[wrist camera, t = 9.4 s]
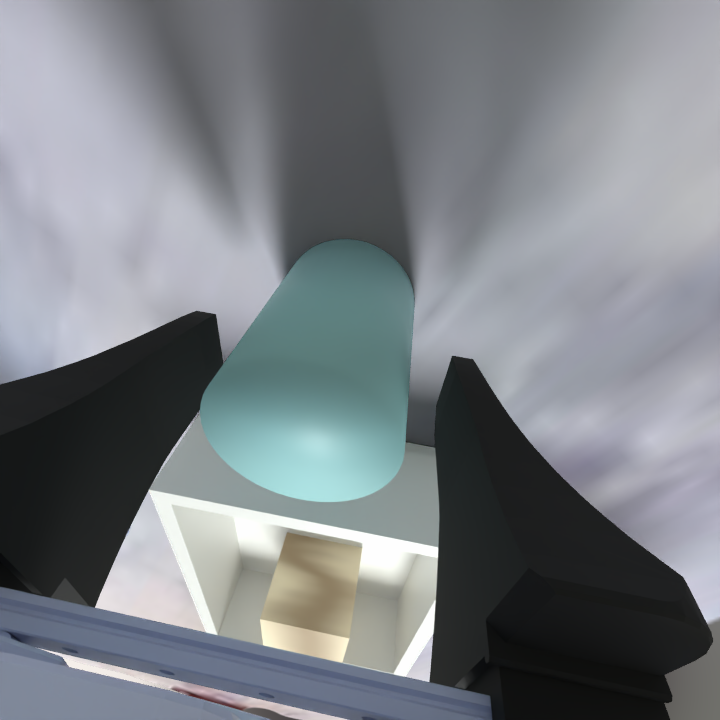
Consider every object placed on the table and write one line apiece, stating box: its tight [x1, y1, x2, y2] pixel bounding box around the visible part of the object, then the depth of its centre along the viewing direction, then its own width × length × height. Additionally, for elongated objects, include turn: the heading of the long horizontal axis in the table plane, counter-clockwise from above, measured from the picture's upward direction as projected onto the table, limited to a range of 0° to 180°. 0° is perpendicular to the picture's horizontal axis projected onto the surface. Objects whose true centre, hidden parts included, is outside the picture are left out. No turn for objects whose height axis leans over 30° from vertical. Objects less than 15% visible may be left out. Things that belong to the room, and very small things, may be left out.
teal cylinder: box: [200, 239, 414, 502], centre depth 12 cm, size 5×5×7 cm
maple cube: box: [260, 532, 362, 663], centre depth 24 cm, size 5×5×5 cm
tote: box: [149, 414, 439, 677], centre depth 22 cm, size 14×18×5 cm
